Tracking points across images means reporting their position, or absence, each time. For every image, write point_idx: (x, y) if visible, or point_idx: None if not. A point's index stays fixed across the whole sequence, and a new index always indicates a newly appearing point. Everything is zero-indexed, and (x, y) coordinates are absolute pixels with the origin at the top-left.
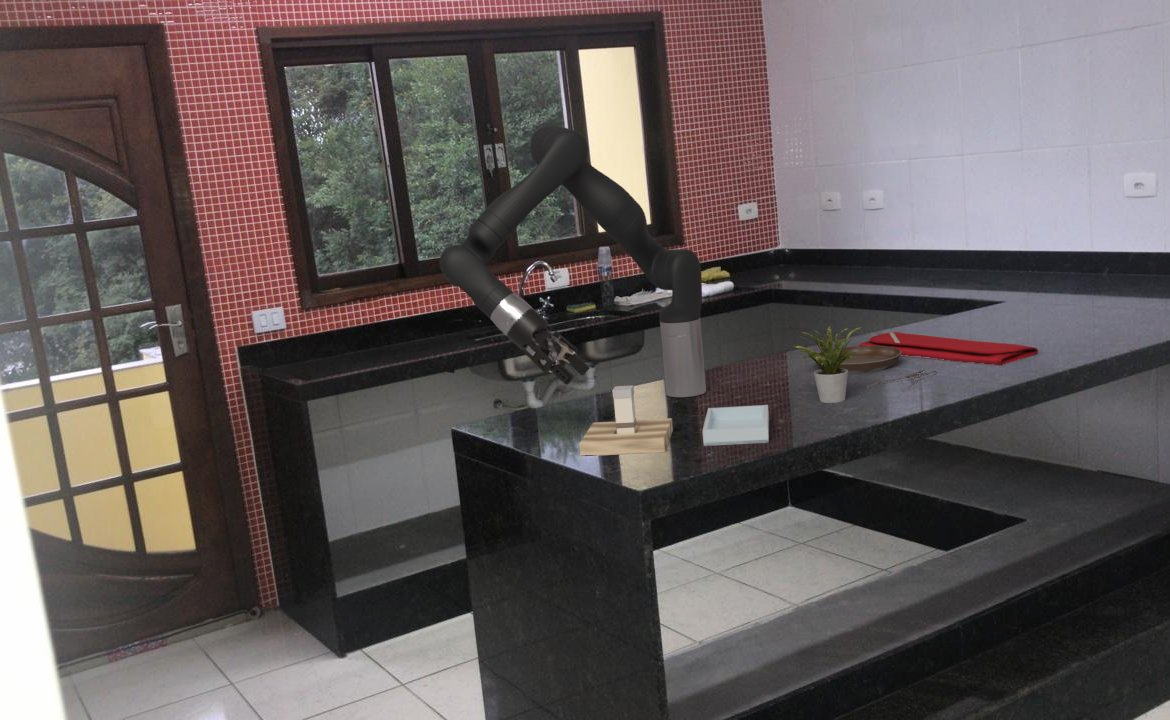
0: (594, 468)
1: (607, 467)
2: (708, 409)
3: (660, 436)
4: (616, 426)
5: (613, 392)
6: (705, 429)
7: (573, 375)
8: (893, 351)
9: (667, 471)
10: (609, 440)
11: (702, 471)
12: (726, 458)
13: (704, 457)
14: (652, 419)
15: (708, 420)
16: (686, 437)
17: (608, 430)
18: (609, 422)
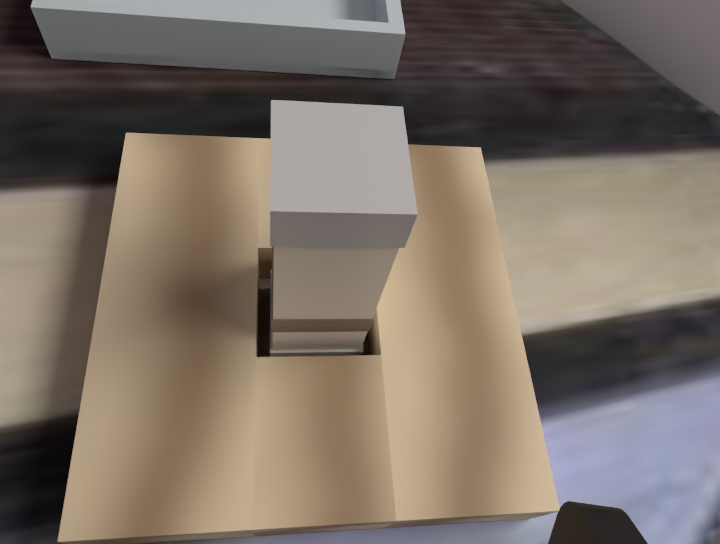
0: (695, 406)
1: (672, 355)
2: (57, 7)
3: (440, 160)
4: (371, 325)
5: (414, 217)
6: (393, 26)
7: (574, 506)
8: None
9: (675, 164)
10: (499, 355)
11: (656, 86)
12: (529, 35)
13: (521, 80)
14: (114, 206)
15: (257, 14)
16: (265, 124)
17: (298, 395)
18: (95, 424)
